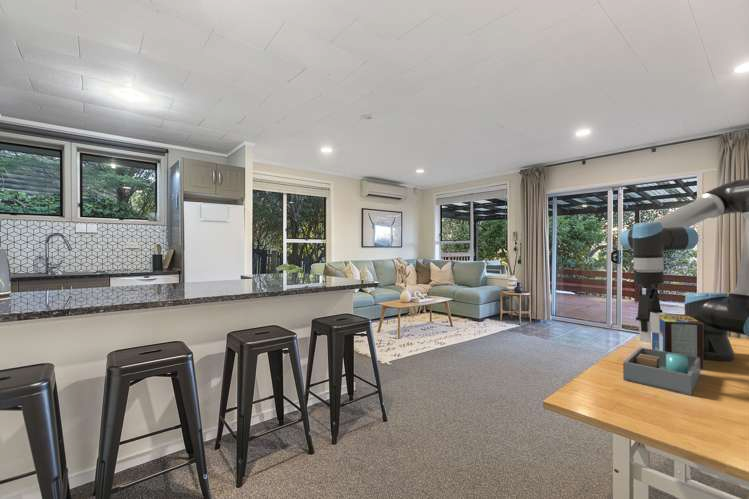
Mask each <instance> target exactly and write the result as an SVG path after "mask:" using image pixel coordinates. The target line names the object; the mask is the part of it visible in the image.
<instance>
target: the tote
mask: <svg viewBox="0 0 749 499" xmlns="http://www.w3.org/2000/svg"><path fill="white" fill-rule="evenodd" d="M669 353H670V352H665V351H659V350H653V349H652V348H645V347H638V348H637V349H636V350H635V351H634V352H633V353H632V354H631V355H630V356H628V357H627V358H626V359H625V360H624V361H623V363H622V364H623V365H622V366H623V369H622V370H623V372H622V373H623V377H622V380H623V381H626V382H630V383H631V382H632V383H634V384H638V385H643V386H647V387H650V388H651V387H652V388H655V389H660V390H664V391H669V392H672V393H677V394H682V395H685V396H690V397H691V396H692V394H693V392H694V390H695V388H696V386H697V384H698V381H699V378H700V377H701V369H700V358H699V357H694V356H688V355H684V356H686V357H688V374H684V373H679V372H674V371H669V370H666V354H669ZM639 354H645V355H651V356H656V357H660V360H659V368H654V367H649V366H644V365H639V364H637V356H638V355H639ZM671 354H676V353H671ZM680 355H682V354H680Z"/></svg>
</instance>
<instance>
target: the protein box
mask: <svg viewBox="0 0 749 499" xmlns="http://www.w3.org/2000/svg"><path fill="white" fill-rule="evenodd" d="M659 317H660V333H653V332H651V349H653V350H659V351H665V352H670V353H676V354H682V355H688V356H694V357H699V358H700V370H704V359H703V323H702V322H700V321H698V320H696V319H694V318H692V317H690V316H688V315H685V313H681V314H679V313H666V312H665V313H664V312H662V313H659Z"/></svg>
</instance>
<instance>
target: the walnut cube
mask: <svg viewBox="0 0 749 499" xmlns="http://www.w3.org/2000/svg"><path fill="white" fill-rule="evenodd" d="M659 360H660V357H656V356H651V355H645V354H639V355H638V356H637V364H639V365H644V366H649V367H654V368H659Z"/></svg>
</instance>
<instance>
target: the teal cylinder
mask: <svg viewBox="0 0 749 499" xmlns="http://www.w3.org/2000/svg"><path fill="white" fill-rule="evenodd" d="M666 370H669V371H674V372H679V373H684V374H688V357H686V356H684V355H680V354H671V353H669V354H666Z"/></svg>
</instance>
